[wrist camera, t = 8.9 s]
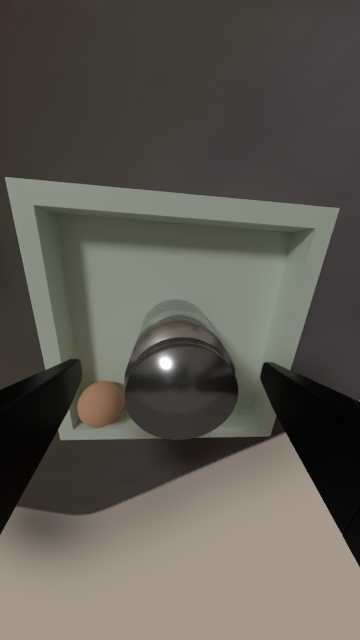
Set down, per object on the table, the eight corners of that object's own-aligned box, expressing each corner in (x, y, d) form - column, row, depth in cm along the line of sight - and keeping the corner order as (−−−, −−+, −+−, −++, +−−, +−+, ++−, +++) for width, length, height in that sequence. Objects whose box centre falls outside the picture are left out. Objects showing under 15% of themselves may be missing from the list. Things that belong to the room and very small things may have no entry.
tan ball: (126, 372, 14) (116, 402, 11) (127, 403, 15) (118, 438, 12) (86, 372, 14) (65, 402, 11) (90, 403, 15) (71, 439, 12)
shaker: (212, 301, 13) (254, 344, 7) (204, 361, 14) (233, 442, 8) (141, 297, 12) (115, 340, 6) (141, 360, 14) (121, 444, 8)
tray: (305, 217, 12) (339, 208, 9) (255, 411, 17) (270, 436, 15) (41, 194, 10) (4, 177, 8) (76, 412, 16) (60, 440, 13)
